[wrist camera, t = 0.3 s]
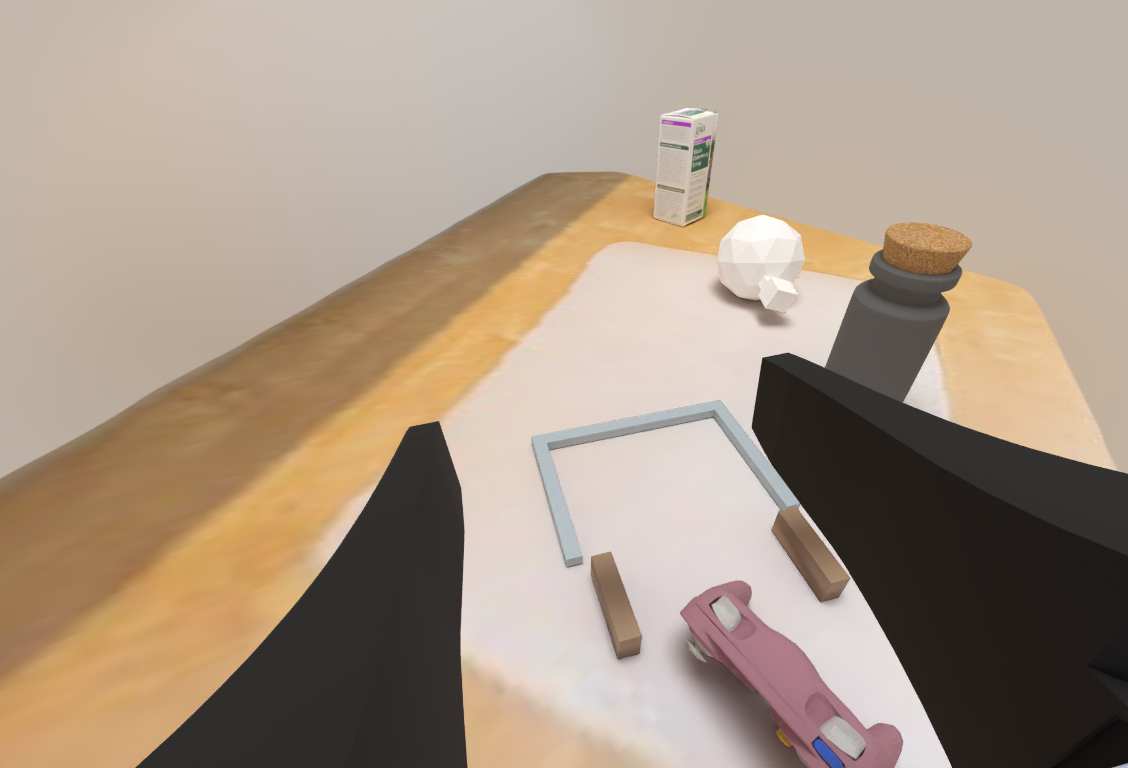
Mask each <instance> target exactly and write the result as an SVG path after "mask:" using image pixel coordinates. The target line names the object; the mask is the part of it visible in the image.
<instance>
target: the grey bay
mask: <svg viewBox="0 0 1128 768" xmlns="http://www.w3.org/2000/svg"><path fill="white" fill-rule="evenodd" d="M711 417H714V418H715V420H716V421H717V423H718V424H719V425H720V427H721V428H722V429H723V431H724V432H725V434H726V435H727V436H728V438H729V439H730V440H731V442H732V443H733V445H734V446H735V447H736V449H737V450H738V451H739V453H740V454H741V456H742V457H743V458H744V460H745V461H746V462H747V464H748V465H749V467H750V468H751V469H752V471H753V472H754V473H755V475H756V476H757V478H758V479H759V480H760V482H761V483H762V484H763V486H764V487H765V489H766V490H767V491H768V493H769V494H770V495H771V497H772V498H773V500H774V501H775V502H776V504H777V505H778V506H779V508H780V509H781V510H785V509H789V508H793V507H797V509H798V508H799V506H800V503H799V501H798V500H797V499H796V497H795V496H794V495H793V493H792V492H791V491H790V489H789V488H788V486H787V485H786V484H785V483H784V481H783V480H782V479H781V477H780V476H779V475H778V474H777V472H776V471H775V470H774V468H773V467H772V466H771V465H770V463H769V462H768V461H767V459H766V458H765V457H764V456H763V454H762V453H761V452H760V450H759V449H758V448H757V446H756V445H755V444H754V443H753V441H752V440H751V439H750V437H749V436H748V435H747V434H746V432H745V431H744V430H743V428H742V427H741V426H740V425H739V423H738V422H737V421H736V419H735V418H734V417H733V416H732V414H731V413H730V412H729V410H728V409H727V408H726V407H725V405H724V404H723V403H722V401H721V400H717V401H712V402H707V403H702V404H696V405H691V406H686V407H681V408H676V409H671V410H666V411H660V412H655V413H650V414H645V415H640V416H635V417H630V418H624V419H619V420H614V421H609V422H604V423H599V424H594V425H588V426H583V427H578V428H573V429H568V430H563V431H558V432H552V433H547V434H542V435H537V436H532V445H533V449H534V452H535V456H536V459H537V463H538V466H539V470H540V474H541V477H542V481H543V484H544V488H545V491H546V495H547V499H548V502H549V506H550V509H551V513H552V516H553V520H554V524H555V527H556V531H557V534H558V538H559V542H560V545H561V549H562V552H563V556H564V559H565V563H566V567H569V566H573V565H577V564H581V563H582V554H581V550H580V547H579V544H578V541H577V538H576V535H575V531H574V528H573V525H572V522H571V519H570V515H569V512H568V509H567V506H566V503H565V499H564V496H563V493H562V490H561V487H560V483H559V480H558V477H557V474H556V471H555V467H554V464H553V461H552V458H551V455H550V451H549V450H551V449H556V448H561V447H566V446H571V445H576V444H581V443H586V442H591V441H596V440H601V439H606V438H611V437H616V436H621V435H626V434H631V433H636V432H641V431H646V430H651V429H656V428H661V427H666V426H671V425H676V424H681V423H686V422H691V421H696V420H701V419H706V418H711Z"/></svg>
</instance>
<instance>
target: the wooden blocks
mask: <svg viewBox="0 0 1128 768" xmlns="http://www.w3.org/2000/svg"><path fill="white" fill-rule="evenodd" d="M772 532H773V533H774V535H775V536H776V538H777V539H778V540H779V542H780V543H781V545H782V546H783V548H784V549H785V551H786V552H787V554H788V555H789V557H790V558H791V559H792V561H793V562H794V564H795V565H796V567H797V568H798V570H799V571H800V573H801V574H802V576H803V577H804V579H805V580H806V581H807V583H808V584H809V586H810V587H811V589H812V590H813V592H814V593H815V595H816V596H817V598H818V599H819V601H820V602H823V601H826V600H830V599H834V598H837V597H839V596H840V594H841V593H842V591H843V590H844V588H845V586H846V585H847V583H848V581H849V580H850V577H849V576H848V574H847V573H846V572H845V571H844V569H843V568H842V567H841V565H840V564H839V563H838V561H837V560H836V559H835V557H834V556H833V555H832V553H831V552H830V551H829V550H828V548H827V547H826V546H825V544H824V543H823V542H822V540H821V539H820V538H819V536H818V535H817V534H816V532H815V531H814V530H813V529H812V527H811V526H810V525H809V523H808V522H807V521H806V519H805V518H804V517H803V515H802V514H801V513H800V511H799V510H798V509H797V507H793V508H789V509H785V510H781V511H779V512H778V515H777V517H776V520H775V523H774V525H773V528H772ZM591 576H592V580H593V583H594V586H595V589H596V592H597V595H598V598H599V602H600V605H601V608H602V611H603V614H604V617H605V621H606V624H607V627H608V630H609V633H610V636H611V639H612V643H613V646H614V649H615V652H616V655H617V658H618V659H621V658H624V657H628V656H631V655H635V654H638V653H639V651H640V645H641V638H642V635H641V632H640V630H639V627H638V624H637V621H636V619H635V616H634V613H633V611H632V608H631V605H630V602H629V600H628V597H627V594H626V591H625V589H624V586H623V583H622V581H621V578H620V575H619V572H618V570H617V567H616V564H615V561H614V559H613V556H612V553H611V552H607V553H603V554H599V555H595V556H591Z"/></svg>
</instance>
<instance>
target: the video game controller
mask: <svg viewBox="0 0 1128 768" xmlns="http://www.w3.org/2000/svg"><path fill="white" fill-rule="evenodd" d="M751 595H752V592H751V587H750V586H749V585H748V584H747V583H745V582H743V581H733V582H729V583H726V584H722V585H719V586H716V587H712V588H710V589H708V590H706V591H705V592H703V593H702V594H700V595H699V596H697V597H695V598H693V599H692V600H691V601H690V602H689V603H688V604H687V605H686V607H685V608H684V609H683V610H682V611H681V612H680V614H681V616H682V617H683V618H684V619H685V621H686V622H687V623H688V625H689V628H690V630H691V632H692V637H693V640H694V643H695V645H694V644H693V643H692V642H691V641H690V640H687V642H688V646H689V649H690V651H691V652H692V653H693V654H694V656H695V657H696V658H697V659H698V660H699V659H700V660H701V661H704V662H707V660H706V659H705V657H704V656H703V655H702V654H705V655H707V656H710V657H713V658H714V659H716V660H718V661H720V662H722V663H723V664H724V665H725V666H726V667H727V668H728V669H729V670H730V671H731V672H732V673H733V674H734V675H735V676H736V677H737V678H738V679H739V680H740V681H741V682H742V683H743V684H744V685H745V686H746V687H747V688H748V689H749V690H750V691H751V692H753V691H754V690H755V689H756V690H757V691H758V692H759V693H760V694H761V696H762V697H763V698H764V699H765V700H766V701H767V702H768V703H769V705H770V706H771V708H770V710H769V711H768V713H769V715H770V716H771V717H772V719H773V720H774V721H775V722H776V724H777V725H778V727H779V729H778V730H777V731H776V733H777V735H778V737H779V739H780V740H781V741H782V742H783V743H784V744H785V745H786V746H788V747H791V746H793V747H794V748H795V750H796V752H797V754H798V758H799V759H800V760H801V762H802V763H803V764H804V765H805V767H806V768H894V766H895V764H896V762H897V760H898V758H899V756H900V753H901V750H902V746H903V740H902V736H901V733H900V732H899V731H898V730H897V728H896V727H895V726H893V725H889V724H884V723H878V724H876V725H873V726H872V727H870V728H869V729H867V730H866V728H865V727H864V726H863V725H862V724H861V723H860V721H859V720H858V719H857V718H856V717H855V715H854V714H853V713H852V712H851V711H850V710H849V709H848V708H847V707H846V706H845V705H844V704H843V702H842V701H841V700H840V699H839V698H838V697H837V696H836V695H835V694H834V693H833V692H832V691H831V690H830V689H829V688H828V687H827V685H826V684H825V683H824V682H823V680H822V679H821V678H820V676H819V674H818V672H817V671H816V669H815V667H814V665H813V664H812V663H811V661H810V660H809V658H808V657H807V656H806V654H805V653H804V652H803V651H802V650H801V649H800V648H799V647H798V646H797V645H796V644H795V643H794V642H792V641H791V640H789V639H788V638H786V637H785V636H783V635H782V634H780V633H778V632H777V631H775V630H773V629H771V628H769V627H768V626H767V625H766V624H764V623H763V622H762V621H761V620H760V619H759V618H758V617H757V616H756V615H755V614H754V613H753V612H752V611H751V610H750V609H749V608H748V607H747V606H746V605H747V604H748V603H749V601H750V599H751Z"/></svg>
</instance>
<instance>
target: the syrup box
mask: <svg viewBox="0 0 1128 768" xmlns="http://www.w3.org/2000/svg"><path fill="white" fill-rule="evenodd" d="M717 121H718V113H717V112H715V111H711V110H707V109H696V108H684V109H682V110H679V111H676V112H671V113H668V114H663V115H661V116H660V127H659V142H658V156H657V171H656V186H655V201H654V216H653V217H654V218H655V219H658V220H660V221H663V222H667V223H670V224H674V225H677V226H681V227H684V226H686V225H687V224H689V223H691V222H693V221H696V220H698V219H700V218H703V217H704V216H705V213H706V204H707V197H708V190H709V189H708V188H709V182H710V175H711V167H712V160H713V151H714V144H715V137H716V128H717Z"/></svg>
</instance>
